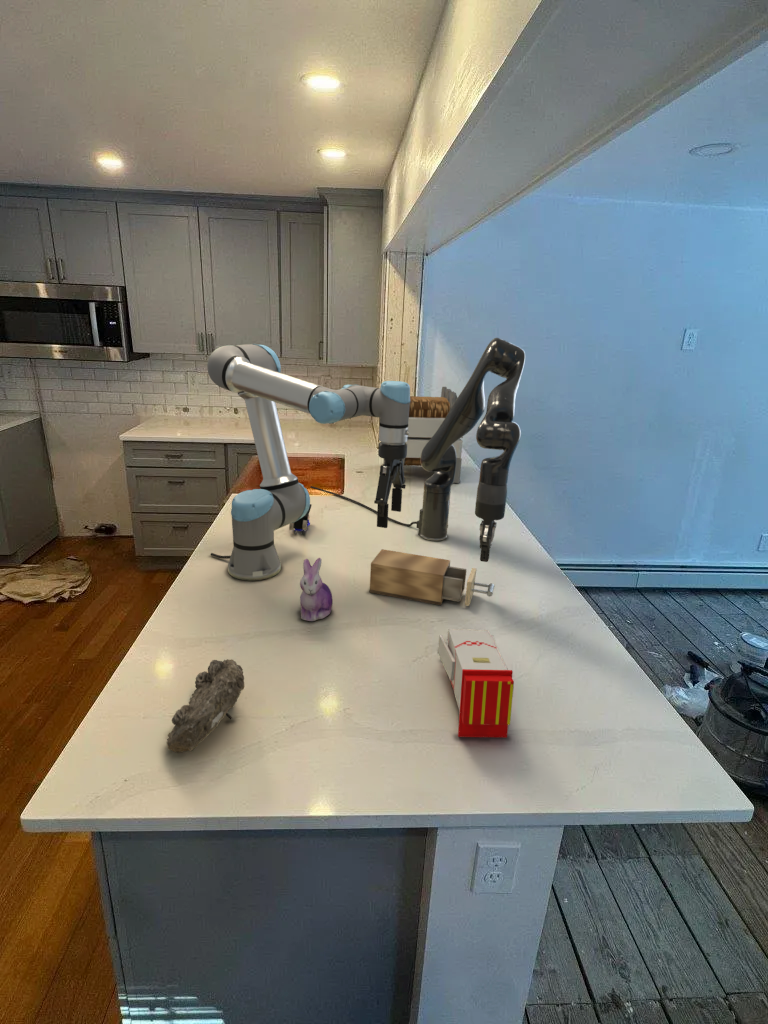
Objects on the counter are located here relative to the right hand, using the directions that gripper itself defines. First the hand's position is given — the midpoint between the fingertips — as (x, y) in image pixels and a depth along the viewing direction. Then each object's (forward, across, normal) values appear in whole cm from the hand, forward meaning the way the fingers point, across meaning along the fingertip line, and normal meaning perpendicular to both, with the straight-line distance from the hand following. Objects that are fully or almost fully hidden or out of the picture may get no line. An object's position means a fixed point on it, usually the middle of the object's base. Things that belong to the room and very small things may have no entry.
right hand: (484, 560), depth 151 cm
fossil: (+13, -64, +42) cm, 78 cm away
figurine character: (+13, +31, +67) cm, 75 cm away
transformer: (+13, +120, +46) cm, 129 cm away
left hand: (-8, 0, +27) cm, 28 cm away
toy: (+13, -39, -3) cm, 41 cm away
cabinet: (+13, 0, +20) cm, 24 cm away
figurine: (+13, -21, +39) cm, 46 cm away
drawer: (+12, 0, +9) cm, 15 cm away
